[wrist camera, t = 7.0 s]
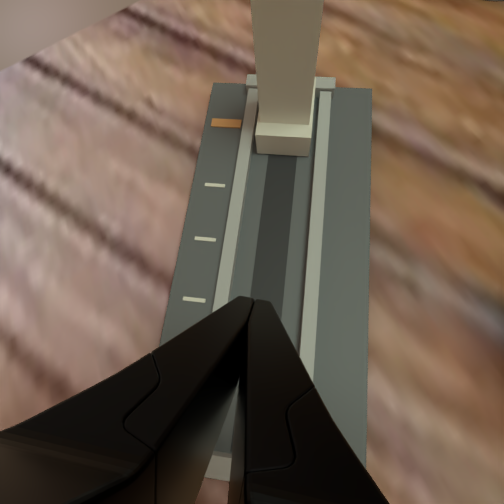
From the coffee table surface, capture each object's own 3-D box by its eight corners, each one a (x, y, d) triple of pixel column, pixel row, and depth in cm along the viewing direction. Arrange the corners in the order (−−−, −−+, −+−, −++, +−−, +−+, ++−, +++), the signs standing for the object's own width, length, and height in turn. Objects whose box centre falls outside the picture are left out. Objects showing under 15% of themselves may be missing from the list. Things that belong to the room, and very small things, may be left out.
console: (360, 492, 18) (370, 508, 16) (143, 456, 20) (127, 466, 18) (368, 100, 27) (375, 77, 25) (216, 94, 28) (210, 71, 26)
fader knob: (308, 156, 24) (336, -52, 12) (257, 153, 24) (236, -51, 13) (313, 98, 25) (342, -134, 14) (265, 96, 26) (252, -131, 14)
